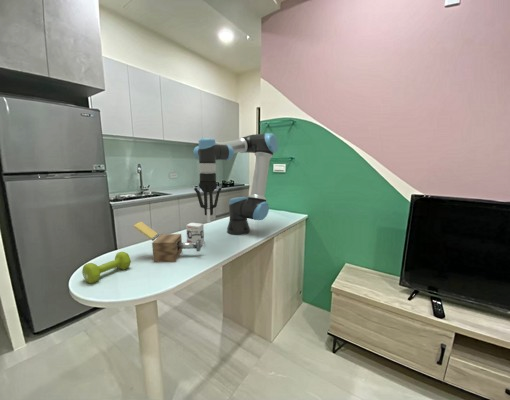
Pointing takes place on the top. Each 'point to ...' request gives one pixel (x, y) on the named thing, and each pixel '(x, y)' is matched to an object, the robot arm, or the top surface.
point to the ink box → (195, 232)
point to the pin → (190, 245)
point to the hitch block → (166, 248)
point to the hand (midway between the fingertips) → (209, 221)
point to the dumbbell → (105, 267)
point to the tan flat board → (146, 230)
